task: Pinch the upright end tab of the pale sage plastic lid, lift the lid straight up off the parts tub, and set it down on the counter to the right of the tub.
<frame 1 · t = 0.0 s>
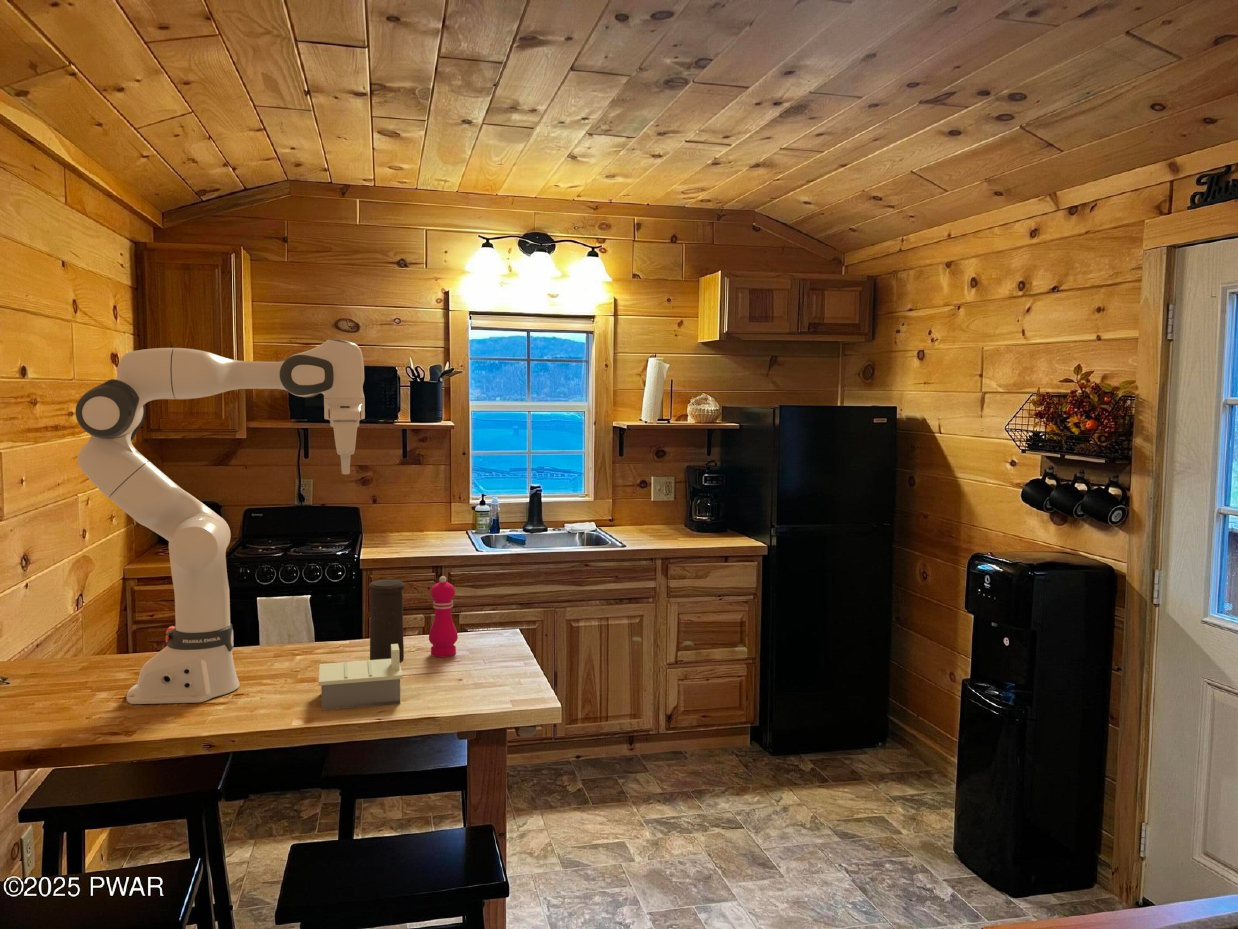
hand: (345, 472, 211), 48 cm above the counter, fingers open, 8 cm apart
lid: (360, 673, 201), point 5 cm above the counter, touching tub
tub: (360, 697, 201), on the counter
container: (387, 661, 229), on the counter
pepper mill: (443, 654, 235), on the counter
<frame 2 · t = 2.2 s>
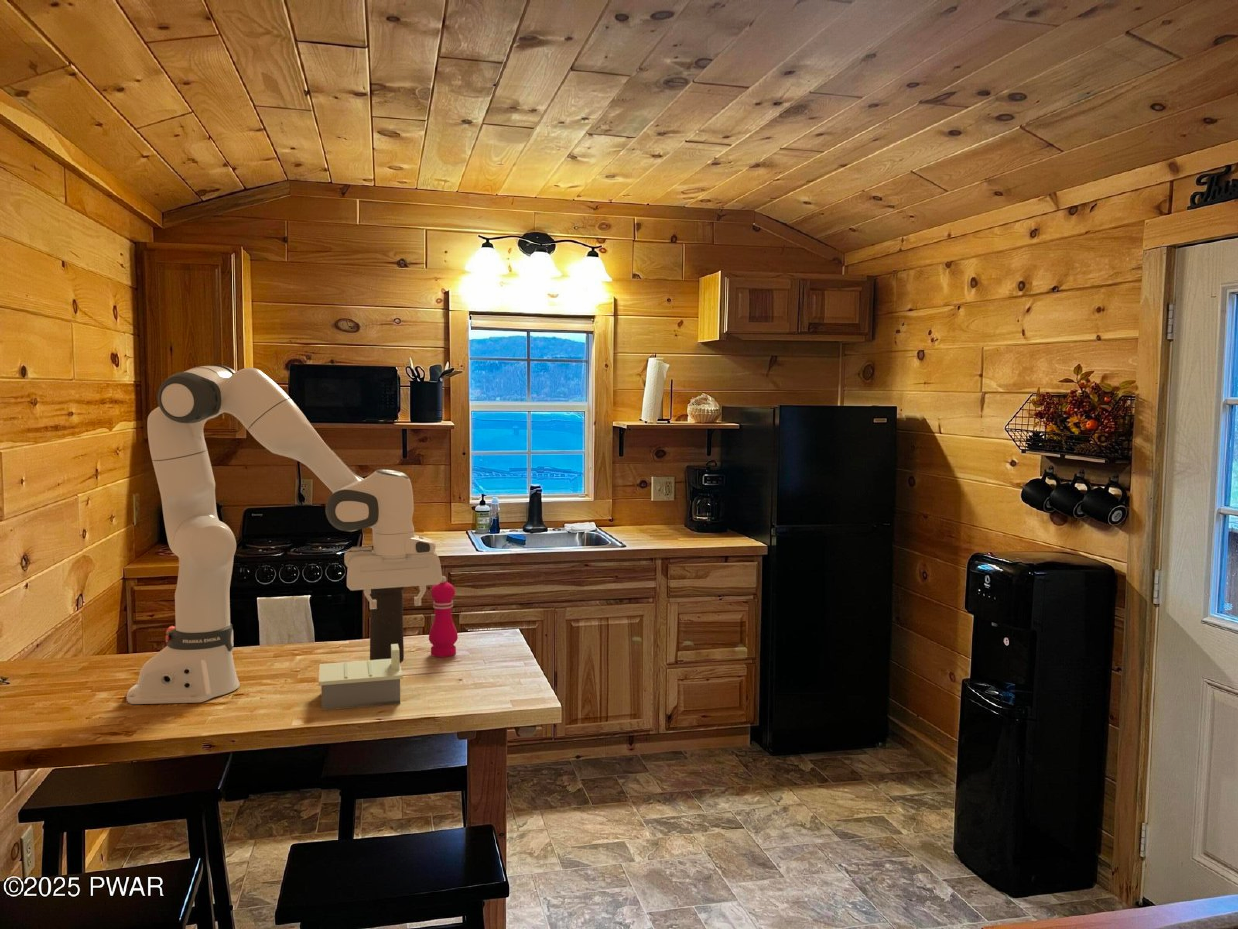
hand: (395, 607, 202), 20 cm above the counter, fingers open, 8 cm apart
nothing on the counter moved.
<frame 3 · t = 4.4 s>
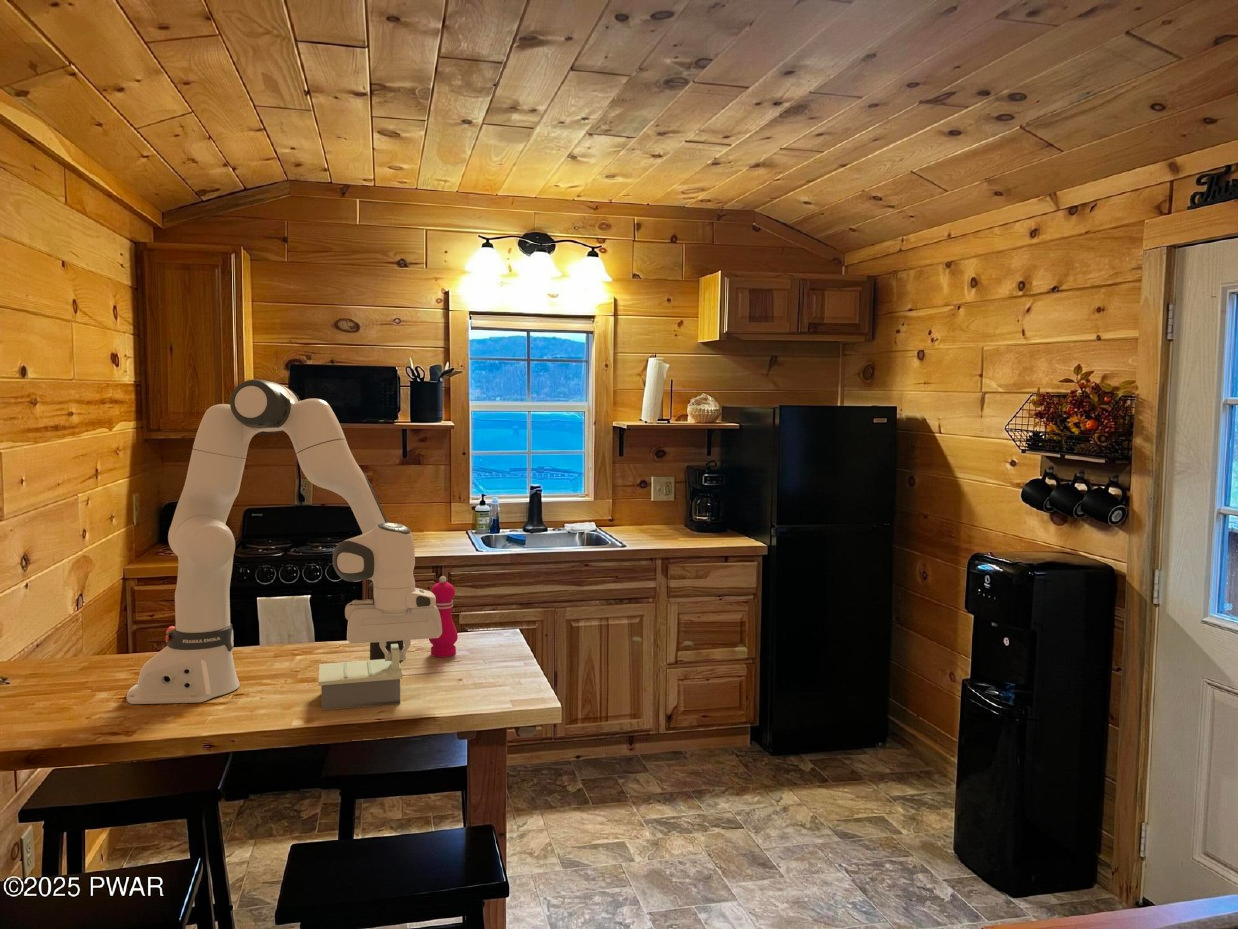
hand: (395, 660, 203), 8 cm above the counter, fingers closed on lid
lid: (360, 673, 201), point 5 cm above the counter, touching gripper, tub
everything else where it was.
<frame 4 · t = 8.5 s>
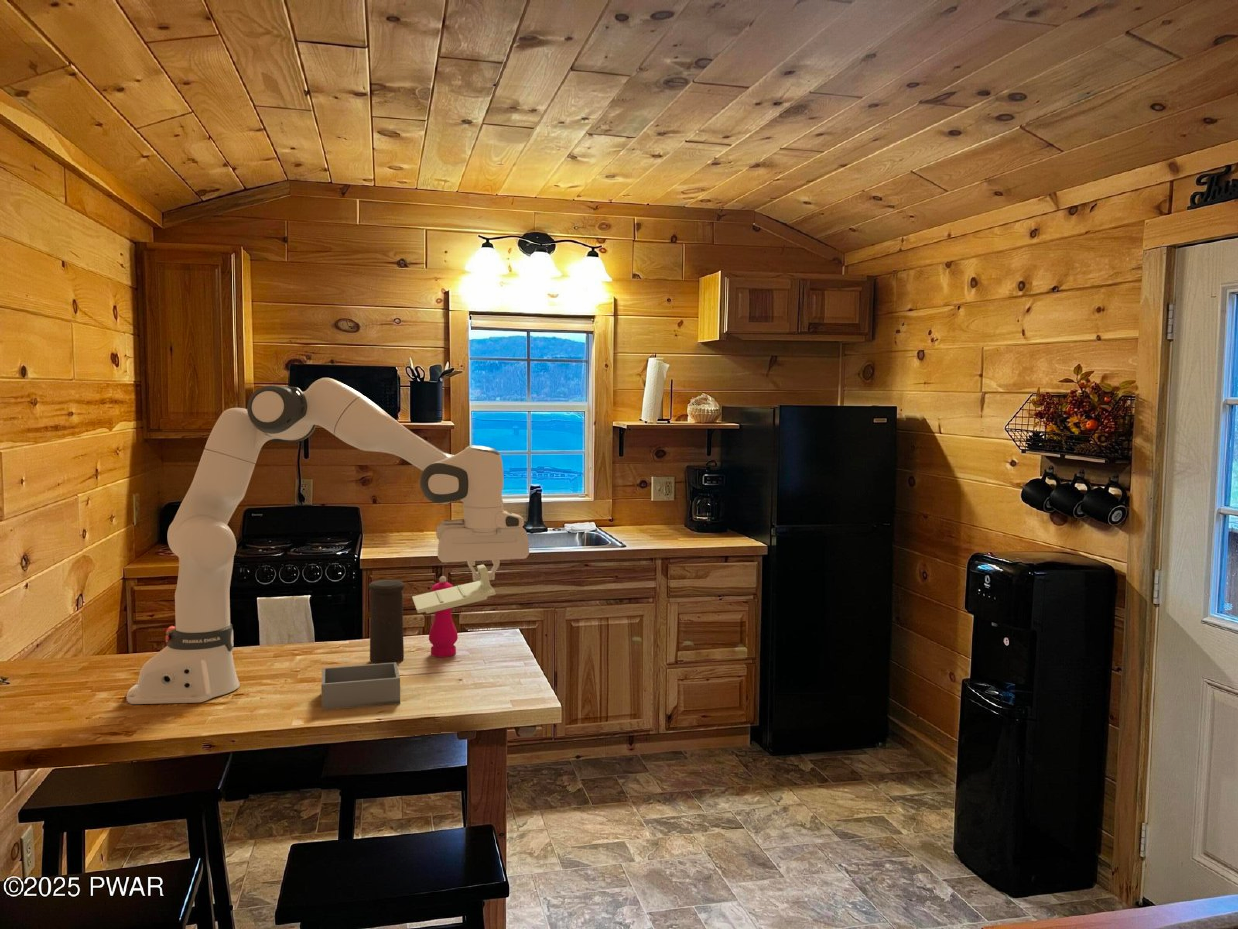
hand: (483, 579, 207), 25 cm above the counter, fingers closed on lid
lid: (453, 597, 205), point 21 cm above the counter, tilted 11°, touching gripper
everything else where it was.
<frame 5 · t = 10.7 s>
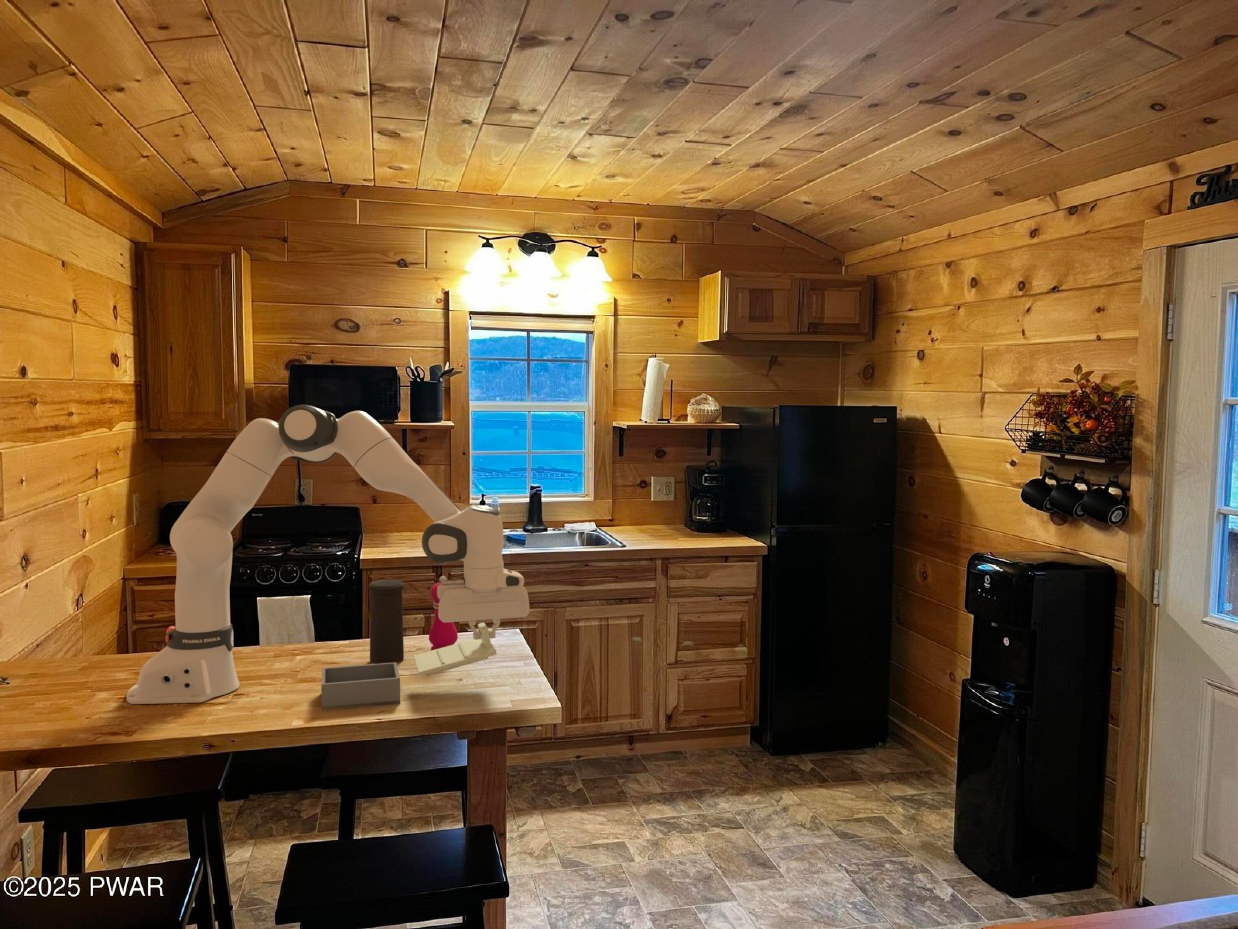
hand: (484, 638, 208), 11 cm above the counter, fingers closed on lid
lid: (454, 656, 206), point 8 cm above the counter, tilted 12°, touching gripper
everything else where it was.
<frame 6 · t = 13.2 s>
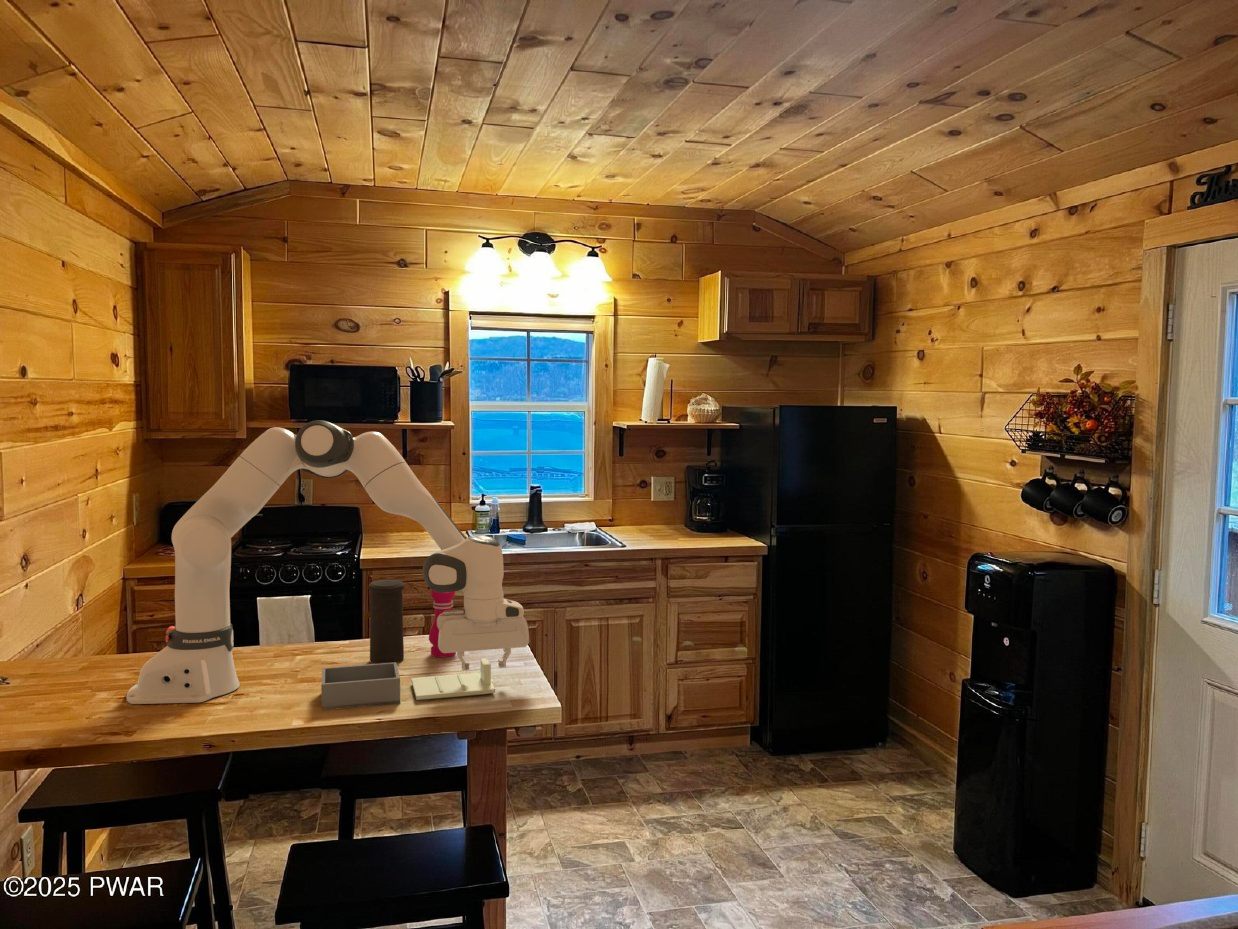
hand: (483, 668, 209), 4 cm above the counter, fingers open, 7 cm apart
lid: (452, 687, 207), point 1 cm above the counter
everything else where it was.
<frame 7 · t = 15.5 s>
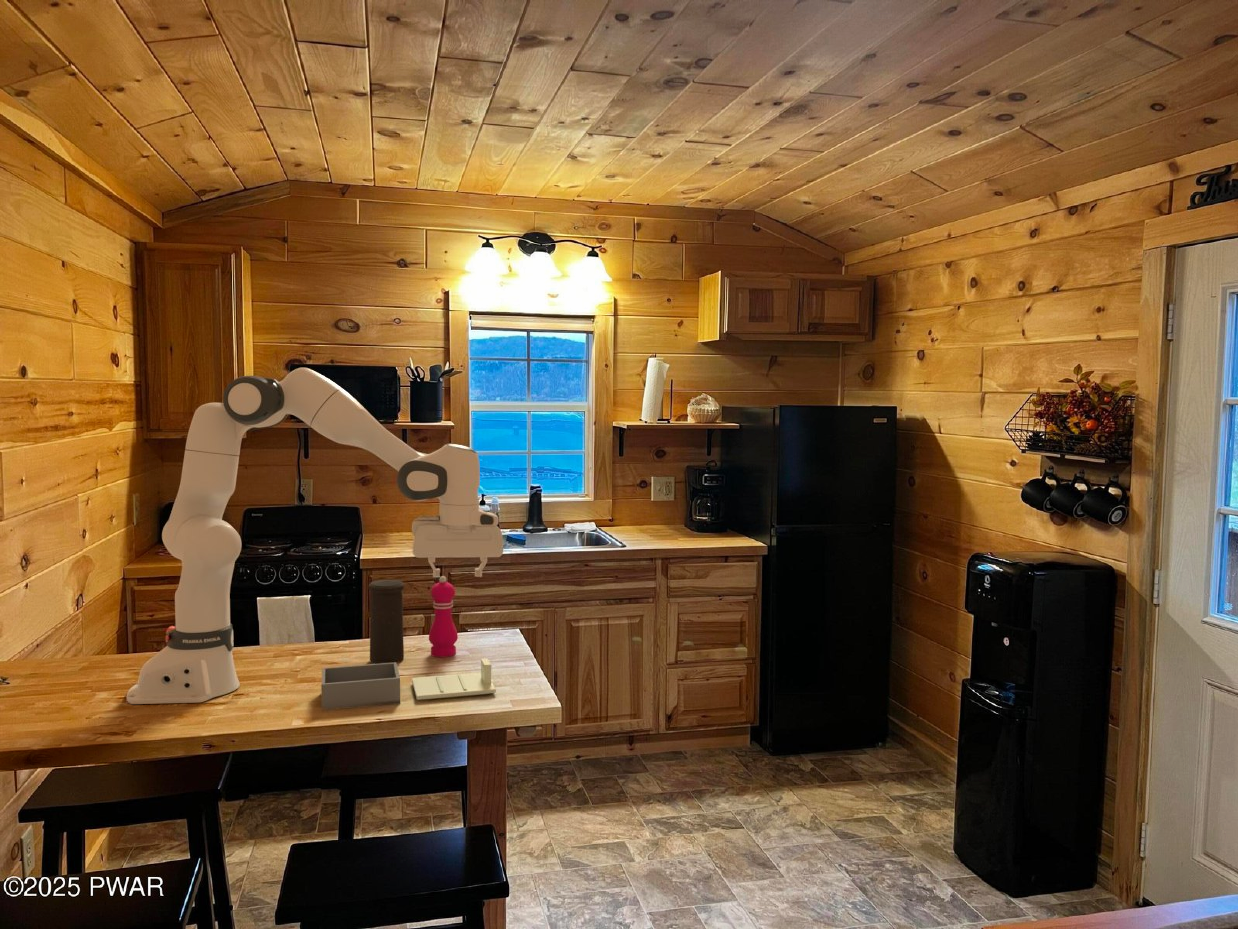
hand: (457, 576, 210), 25 cm above the counter, fingers open, 8 cm apart
nothing on the counter moved.
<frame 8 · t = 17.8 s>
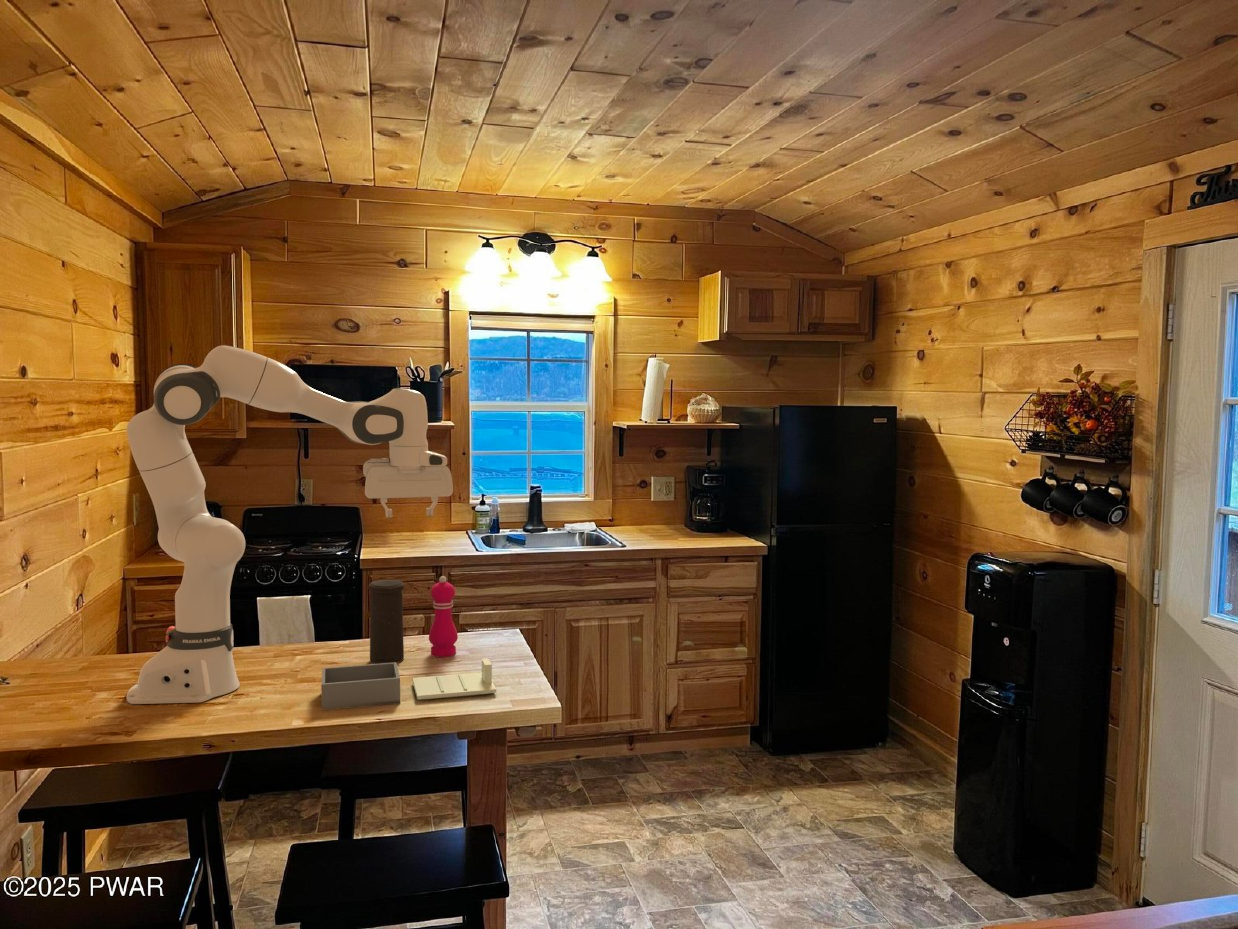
hand: (409, 516, 218), 37 cm above the counter, fingers open, 8 cm apart
nothing on the counter moved.
at the end: lid inside the target area (0.6 cm from its centre), point 0.6 cm above the counter; lid touching counter; the gripper is holding nothing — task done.
